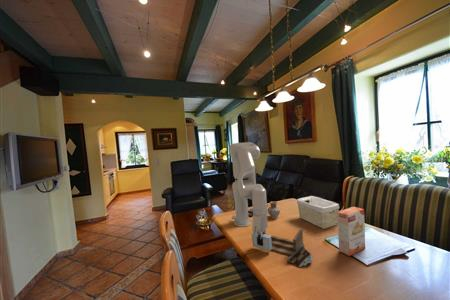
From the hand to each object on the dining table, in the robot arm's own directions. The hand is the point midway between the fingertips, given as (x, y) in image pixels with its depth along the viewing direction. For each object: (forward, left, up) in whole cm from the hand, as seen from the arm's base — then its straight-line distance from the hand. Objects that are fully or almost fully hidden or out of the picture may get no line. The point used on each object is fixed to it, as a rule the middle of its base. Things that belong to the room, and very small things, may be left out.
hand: (261, 243), depth 104 cm
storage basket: (+20, +52, -4) cm, 56 cm away
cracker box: (+41, +22, -4) cm, 47 cm away
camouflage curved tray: (+21, 0, -4) cm, 21 cm away
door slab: (0, 0, -2) cm, 2 cm away
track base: (+8, +9, -4) cm, 13 cm away
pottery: (-17, +49, -4) cm, 52 cm away
